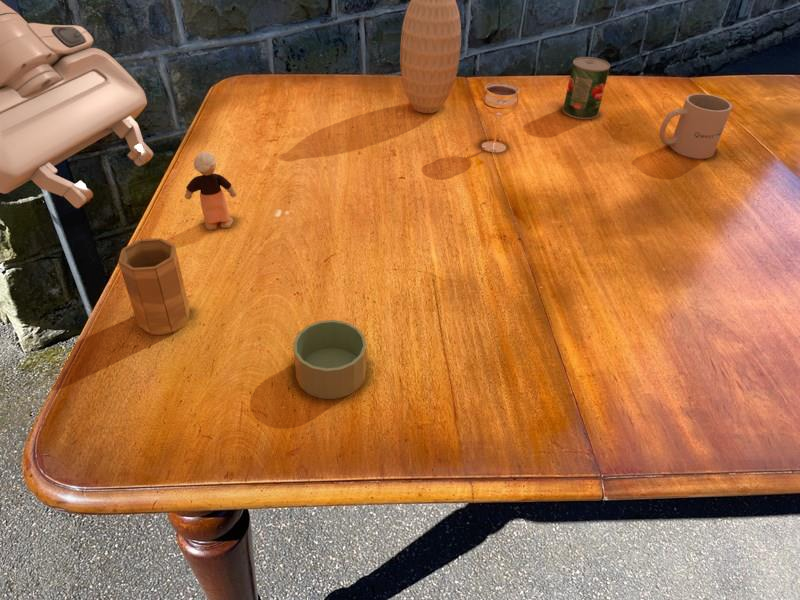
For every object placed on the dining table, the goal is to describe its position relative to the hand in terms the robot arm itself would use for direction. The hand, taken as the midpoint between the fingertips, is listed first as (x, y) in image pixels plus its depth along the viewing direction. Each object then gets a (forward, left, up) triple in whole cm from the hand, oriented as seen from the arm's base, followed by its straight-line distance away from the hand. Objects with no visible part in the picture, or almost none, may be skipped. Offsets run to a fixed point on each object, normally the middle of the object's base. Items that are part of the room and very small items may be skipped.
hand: (118, 180), depth 65 cm
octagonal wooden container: (+4, +5, -24) cm, 25 cm away
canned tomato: (+106, -12, -25) cm, 109 cm away
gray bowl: (+10, -19, -24) cm, 33 cm away
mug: (+103, -36, -25) cm, 112 cm away
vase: (+85, +16, -25) cm, 89 cm away
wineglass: (+78, -5, -25) cm, 82 cm away
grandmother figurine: (+24, +17, -25) cm, 38 cm away
